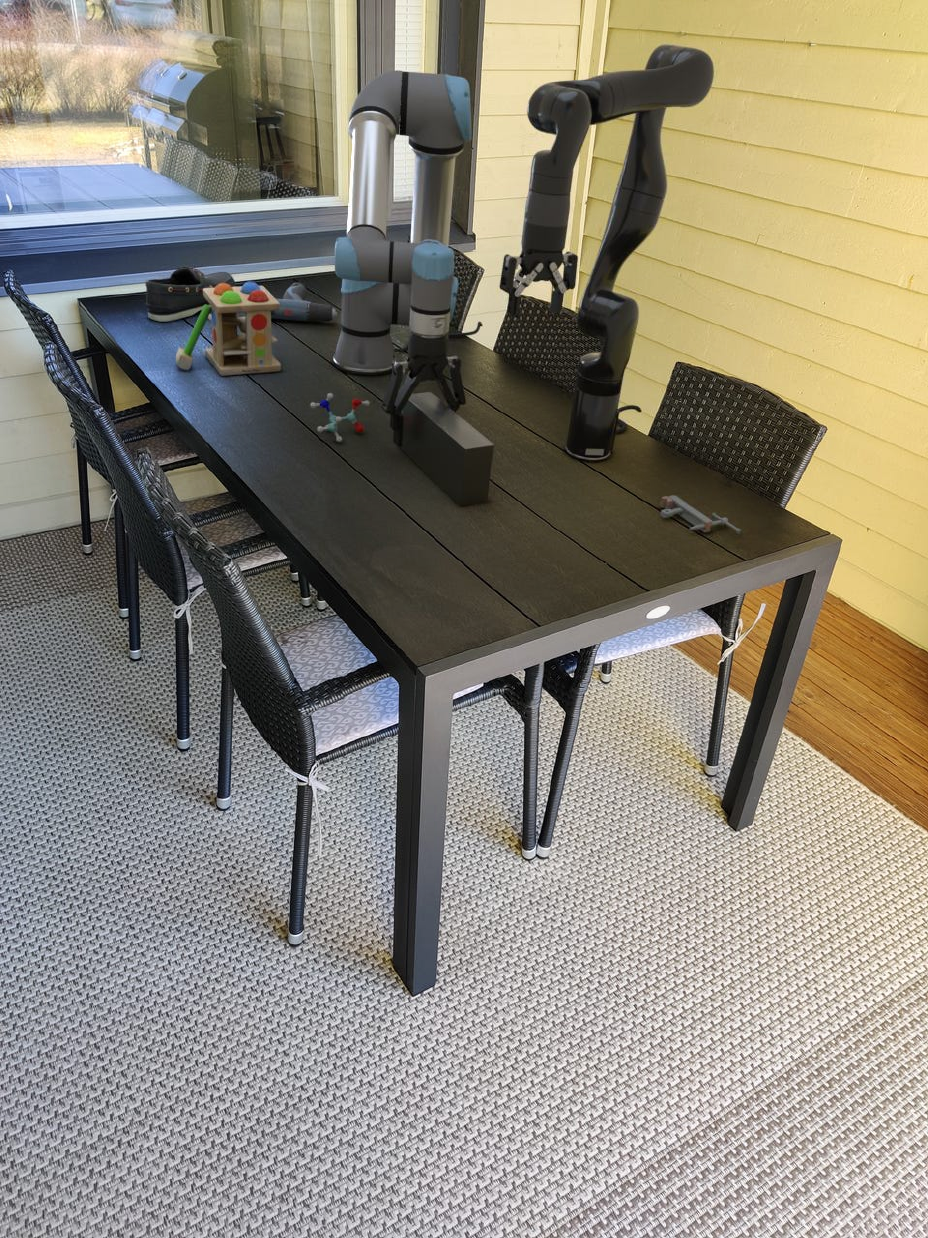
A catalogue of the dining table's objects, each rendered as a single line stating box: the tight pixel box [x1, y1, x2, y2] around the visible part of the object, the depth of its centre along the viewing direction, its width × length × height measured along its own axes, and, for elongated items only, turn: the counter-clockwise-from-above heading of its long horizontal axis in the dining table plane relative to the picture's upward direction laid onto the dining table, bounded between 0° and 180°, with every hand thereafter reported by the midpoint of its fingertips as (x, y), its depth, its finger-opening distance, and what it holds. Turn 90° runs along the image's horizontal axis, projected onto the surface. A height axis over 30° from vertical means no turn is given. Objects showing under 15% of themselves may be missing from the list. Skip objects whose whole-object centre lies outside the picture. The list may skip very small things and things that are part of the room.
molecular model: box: [309, 392, 371, 443], centre depth 201 cm, size 12×10×10 cm
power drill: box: [271, 282, 338, 322], centre depth 265 cm, size 5×19×20 cm
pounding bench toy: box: [174, 281, 282, 377], centre depth 225 cm, size 23×14×18 cm, turn 116°
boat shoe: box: [144, 265, 237, 323], centre depth 261 cm, size 13×33×10 cm, turn 147°
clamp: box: [659, 494, 742, 534], centre depth 183 cm, size 15×2×10 cm
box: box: [400, 391, 495, 507], centre depth 189 cm, size 26×6×12 cm, turn 28°
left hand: (421, 441), depth 197 cm, fingers open, 10 cm apart
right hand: (534, 314), depth 175 cm, fingers open, 8 cm apart
